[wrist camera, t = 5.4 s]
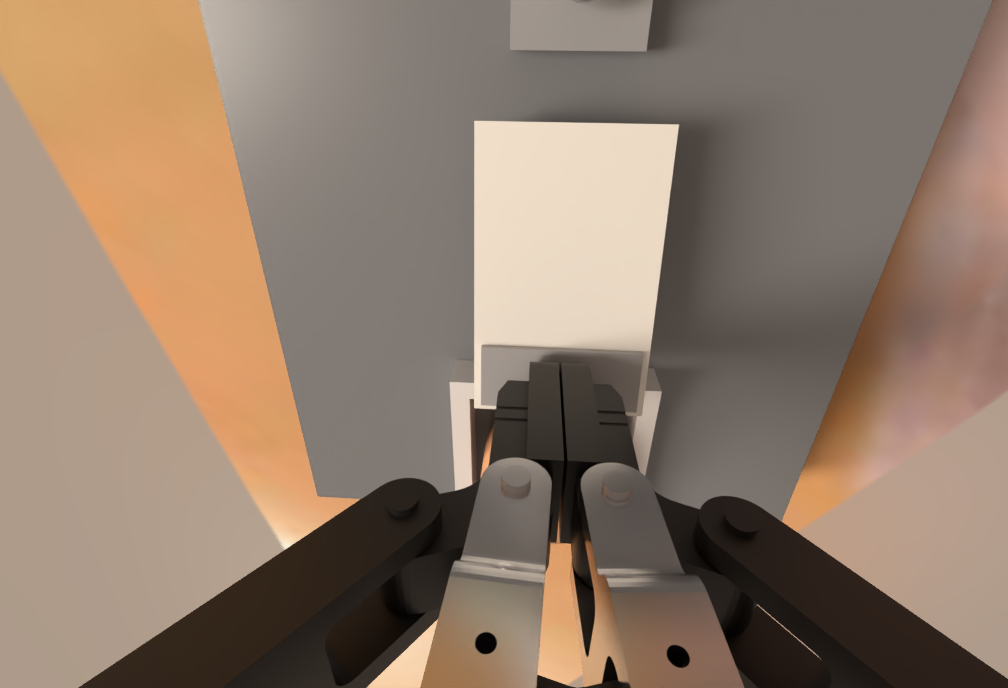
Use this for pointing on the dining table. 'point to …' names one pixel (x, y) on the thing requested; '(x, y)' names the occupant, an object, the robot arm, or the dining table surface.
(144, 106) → the dining table surface
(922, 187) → the dining table surface
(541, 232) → the rocker switch
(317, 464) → the control panel
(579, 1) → the toggle lever
